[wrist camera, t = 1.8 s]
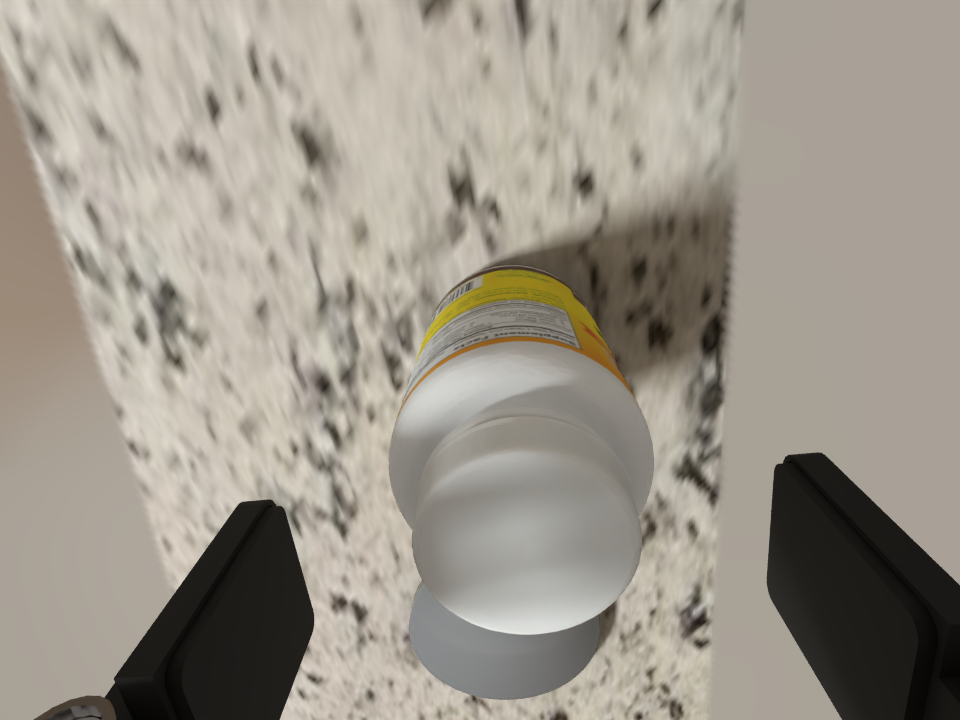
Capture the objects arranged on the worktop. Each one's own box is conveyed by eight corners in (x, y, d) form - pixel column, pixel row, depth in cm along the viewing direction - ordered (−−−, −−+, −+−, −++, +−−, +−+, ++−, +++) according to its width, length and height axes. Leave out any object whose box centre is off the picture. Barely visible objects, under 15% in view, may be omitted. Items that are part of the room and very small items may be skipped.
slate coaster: (397, 550, 23) (393, 565, 22) (592, 535, 22) (595, 549, 21) (427, 687, 26) (425, 704, 25) (600, 676, 25) (603, 694, 24)
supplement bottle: (583, 421, 20) (659, 682, 11) (425, 410, 20) (363, 660, 11) (607, 265, 18) (727, 419, 9) (431, 252, 18) (359, 393, 9)
